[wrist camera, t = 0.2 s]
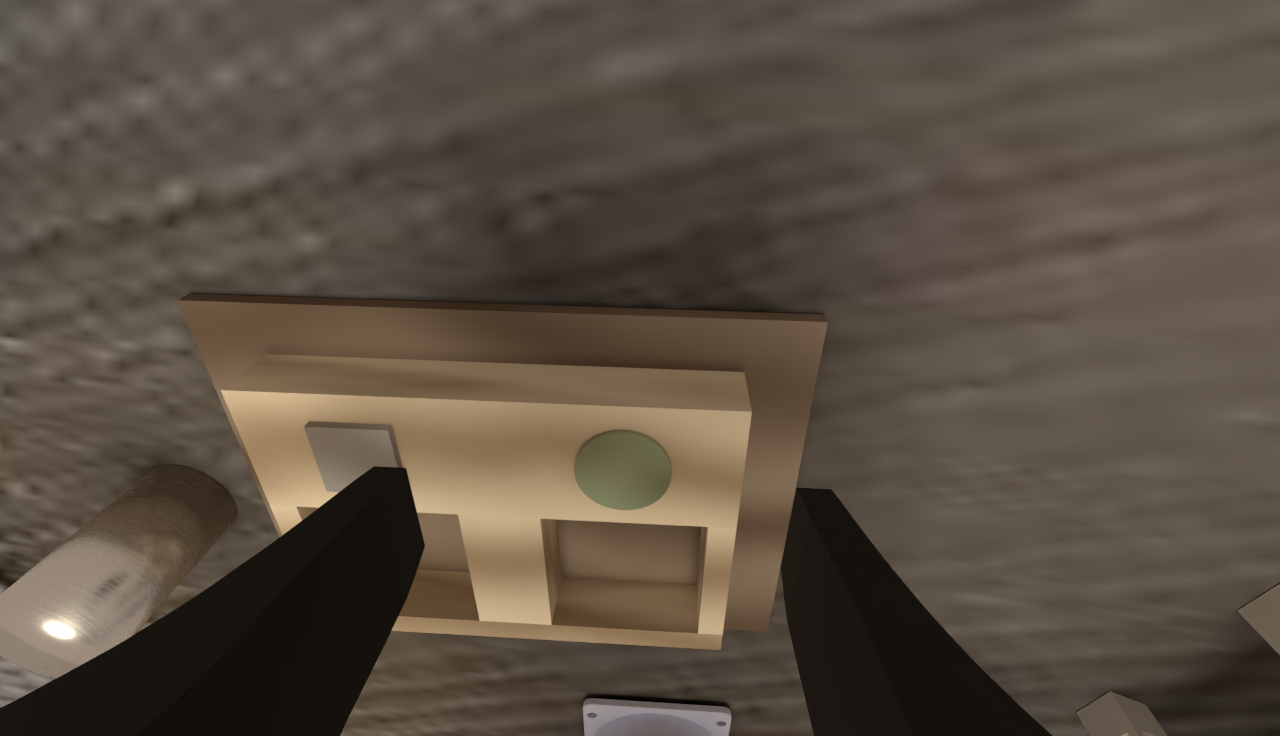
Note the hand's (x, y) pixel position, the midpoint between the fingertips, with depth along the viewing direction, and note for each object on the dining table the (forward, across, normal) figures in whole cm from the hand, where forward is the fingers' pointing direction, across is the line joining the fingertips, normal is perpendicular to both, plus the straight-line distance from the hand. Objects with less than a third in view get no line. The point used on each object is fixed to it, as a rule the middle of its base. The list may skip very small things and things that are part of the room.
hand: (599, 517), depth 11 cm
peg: (+10, +20, +10) cm, 24 cm away
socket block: (+10, +5, +8) cm, 14 cm away
